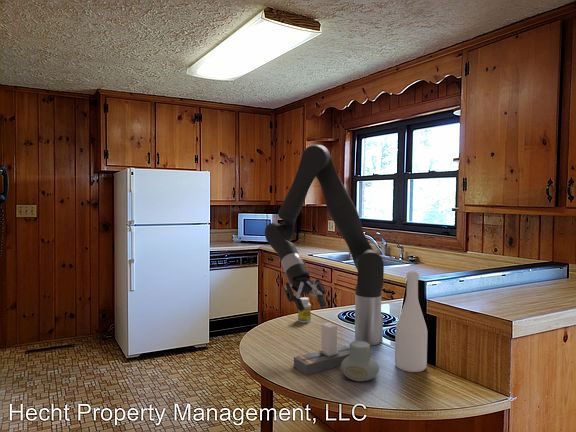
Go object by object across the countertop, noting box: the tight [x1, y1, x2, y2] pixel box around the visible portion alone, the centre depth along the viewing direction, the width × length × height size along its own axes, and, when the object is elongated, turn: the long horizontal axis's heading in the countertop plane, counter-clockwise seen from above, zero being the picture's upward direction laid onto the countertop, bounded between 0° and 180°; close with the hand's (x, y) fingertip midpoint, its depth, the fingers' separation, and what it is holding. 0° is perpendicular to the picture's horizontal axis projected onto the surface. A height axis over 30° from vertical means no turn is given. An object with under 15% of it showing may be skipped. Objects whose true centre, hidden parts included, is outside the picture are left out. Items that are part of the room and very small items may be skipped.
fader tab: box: [318, 322, 339, 357], centre depth 137 cm, size 4×5×9 cm
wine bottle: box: [394, 270, 428, 373], centre depth 134 cm, size 10×10×30 cm
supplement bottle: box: [297, 296, 312, 324], centre depth 181 cm, size 5×5×10 cm
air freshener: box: [340, 340, 380, 383], centre depth 127 cm, size 11×8×10 cm
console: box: [293, 344, 350, 376], centre depth 137 cm, size 20×7×3 cm, turn 122°
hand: (313, 308), depth 144 cm, fingers open, 8 cm apart
